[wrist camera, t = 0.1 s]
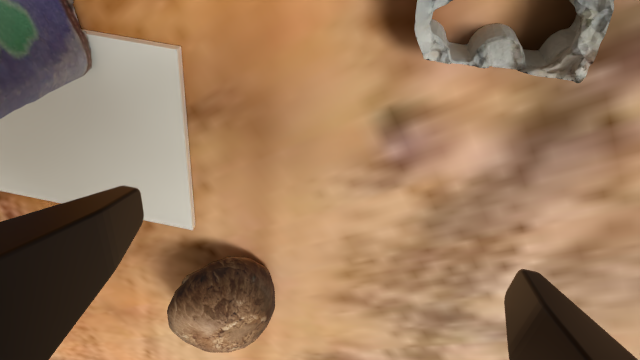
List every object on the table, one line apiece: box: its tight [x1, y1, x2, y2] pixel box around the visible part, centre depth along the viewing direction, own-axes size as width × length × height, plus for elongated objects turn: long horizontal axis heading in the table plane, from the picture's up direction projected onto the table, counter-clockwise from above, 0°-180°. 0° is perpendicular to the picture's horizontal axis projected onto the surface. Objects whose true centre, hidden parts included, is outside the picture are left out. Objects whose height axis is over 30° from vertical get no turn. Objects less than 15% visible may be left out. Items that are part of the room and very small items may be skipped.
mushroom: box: [167, 257, 275, 352], centre depth 33 cm, size 8×8×6 cm
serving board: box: [0, 29, 195, 230], centre depth 29 cm, size 13×18×1 cm
